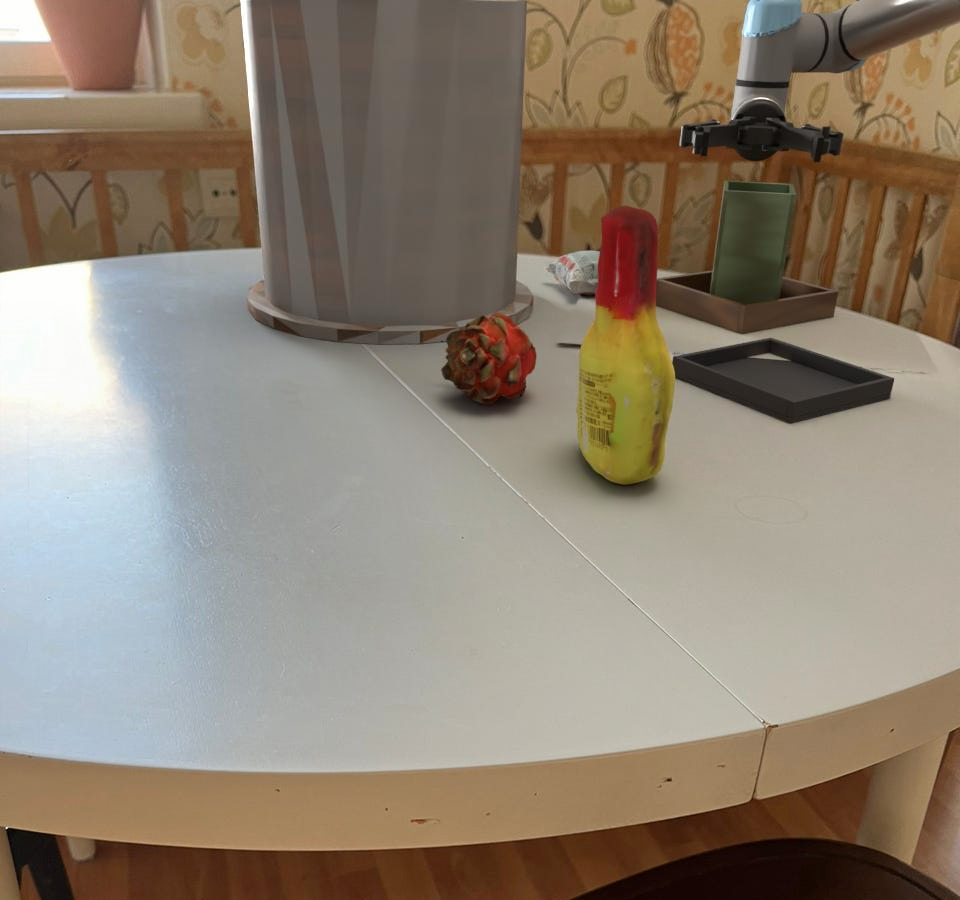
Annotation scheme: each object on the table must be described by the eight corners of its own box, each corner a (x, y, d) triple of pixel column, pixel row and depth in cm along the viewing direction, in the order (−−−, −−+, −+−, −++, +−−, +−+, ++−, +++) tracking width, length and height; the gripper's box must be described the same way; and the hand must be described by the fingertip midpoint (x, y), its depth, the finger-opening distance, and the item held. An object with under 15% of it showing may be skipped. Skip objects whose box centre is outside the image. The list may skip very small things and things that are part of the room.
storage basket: (311, 360, 109) (287, -4, 92) (210, 286, 135) (178, -9, 118) (588, 322, 124) (612, 3, 107) (450, 262, 150) (452, -2, 133)
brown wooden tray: (832, 321, 127) (838, 291, 125) (740, 339, 119) (745, 307, 117) (739, 293, 138) (743, 265, 136) (650, 308, 130) (653, 278, 128)
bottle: (555, 443, 90) (570, 195, 80) (625, 439, 92) (649, 193, 81) (599, 499, 80) (623, 224, 70) (677, 493, 82) (712, 222, 71)
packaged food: (567, 304, 131) (570, 263, 128) (543, 282, 141) (545, 244, 138) (633, 303, 133) (638, 263, 130) (604, 281, 142) (608, 244, 140)
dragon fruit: (469, 436, 96) (488, 411, 107) (547, 385, 93) (559, 365, 104) (417, 355, 94) (441, 339, 104) (495, 301, 91) (512, 290, 102)
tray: (890, 398, 103) (895, 378, 102) (790, 423, 96) (794, 402, 95) (767, 355, 114) (770, 337, 113) (670, 375, 107) (672, 356, 106)
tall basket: (773, 304, 131) (793, 183, 124) (775, 320, 124) (796, 194, 117) (708, 299, 132) (724, 180, 125) (707, 315, 126) (724, 190, 118)
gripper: (845, 162, 145) (861, 186, 127) (664, 153, 149) (655, 174, 131) (856, 102, 141) (874, 117, 123) (670, 94, 145) (662, 108, 127)
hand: (761, 147), depth 127 cm, fingers open, 13 cm apart
